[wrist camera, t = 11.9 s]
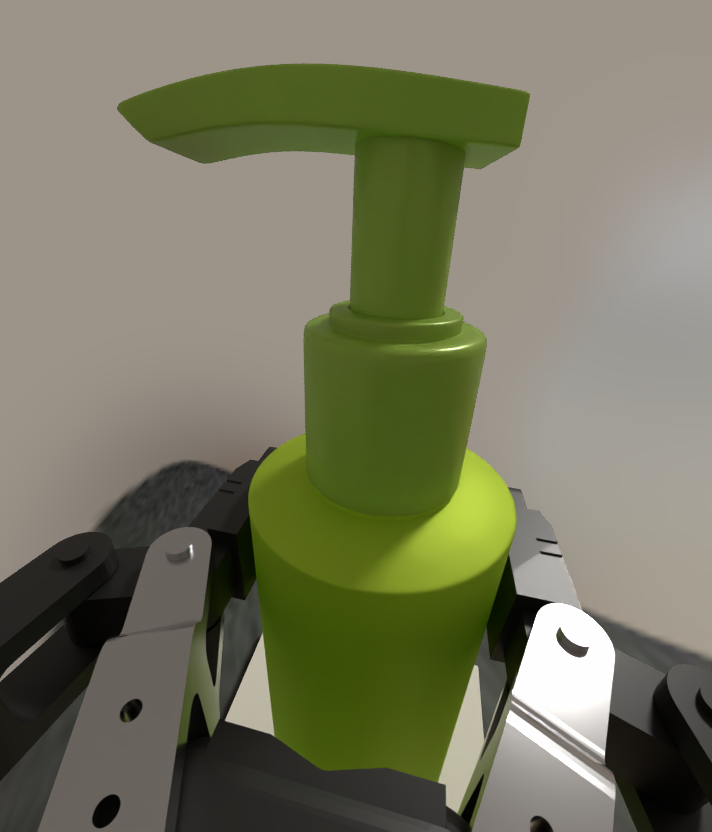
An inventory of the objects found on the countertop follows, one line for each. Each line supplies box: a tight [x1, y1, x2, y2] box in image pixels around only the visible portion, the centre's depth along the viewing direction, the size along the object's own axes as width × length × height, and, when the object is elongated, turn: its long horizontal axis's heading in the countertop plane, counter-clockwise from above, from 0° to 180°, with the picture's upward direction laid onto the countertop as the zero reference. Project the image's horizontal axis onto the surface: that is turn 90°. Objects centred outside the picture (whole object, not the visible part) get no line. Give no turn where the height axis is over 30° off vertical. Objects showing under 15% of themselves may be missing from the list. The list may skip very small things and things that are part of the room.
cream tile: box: [225, 633, 484, 813], centre depth 15 cm, size 11×10×1 cm
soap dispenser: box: [117, 64, 530, 782], centre depth 10 cm, size 6×7×20 cm
